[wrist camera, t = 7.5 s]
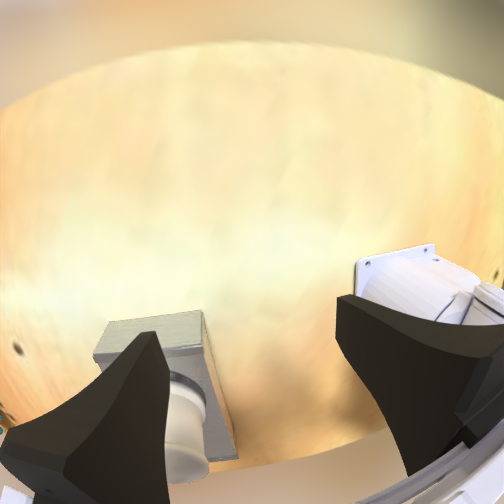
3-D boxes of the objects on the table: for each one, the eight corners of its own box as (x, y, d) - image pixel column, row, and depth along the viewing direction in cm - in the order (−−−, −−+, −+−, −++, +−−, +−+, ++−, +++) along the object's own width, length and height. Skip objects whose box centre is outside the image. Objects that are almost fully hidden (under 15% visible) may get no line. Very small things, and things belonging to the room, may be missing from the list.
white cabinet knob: (200, 378, 17) (205, 448, 12) (208, 423, 19) (214, 483, 13) (125, 379, 16) (110, 444, 11) (143, 424, 18) (137, 481, 13)
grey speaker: (202, 309, 21) (202, 343, 17) (234, 427, 26) (239, 459, 22) (108, 321, 20) (91, 354, 16) (164, 433, 25) (162, 465, 21)
